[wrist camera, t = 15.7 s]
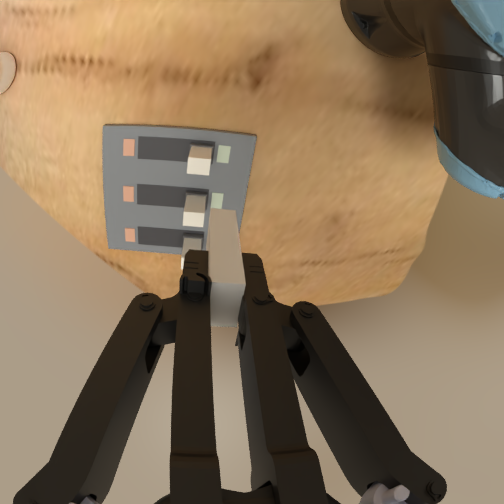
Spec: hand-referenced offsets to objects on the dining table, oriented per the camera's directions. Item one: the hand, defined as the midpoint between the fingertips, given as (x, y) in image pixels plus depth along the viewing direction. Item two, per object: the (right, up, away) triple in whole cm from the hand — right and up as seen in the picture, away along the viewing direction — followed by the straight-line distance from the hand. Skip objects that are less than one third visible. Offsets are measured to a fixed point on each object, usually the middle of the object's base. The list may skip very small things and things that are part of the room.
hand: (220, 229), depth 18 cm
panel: (-10, +7, +24) cm, 27 cm away
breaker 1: (-5, +12, +19) cm, 23 cm away
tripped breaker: (-7, 0, +27) cm, 28 cm away
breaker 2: (-6, +6, +23) cm, 25 cm away
